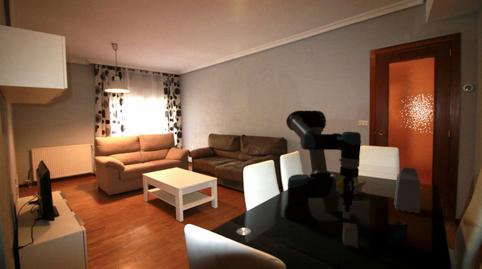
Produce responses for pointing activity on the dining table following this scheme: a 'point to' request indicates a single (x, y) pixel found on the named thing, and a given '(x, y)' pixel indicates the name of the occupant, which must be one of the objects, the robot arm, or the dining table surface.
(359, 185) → the fruit bowl
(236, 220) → the dining table surface
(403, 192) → the milk
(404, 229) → the flask
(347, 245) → the post
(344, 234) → the cap
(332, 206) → the plant pot
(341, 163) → the robot arm
